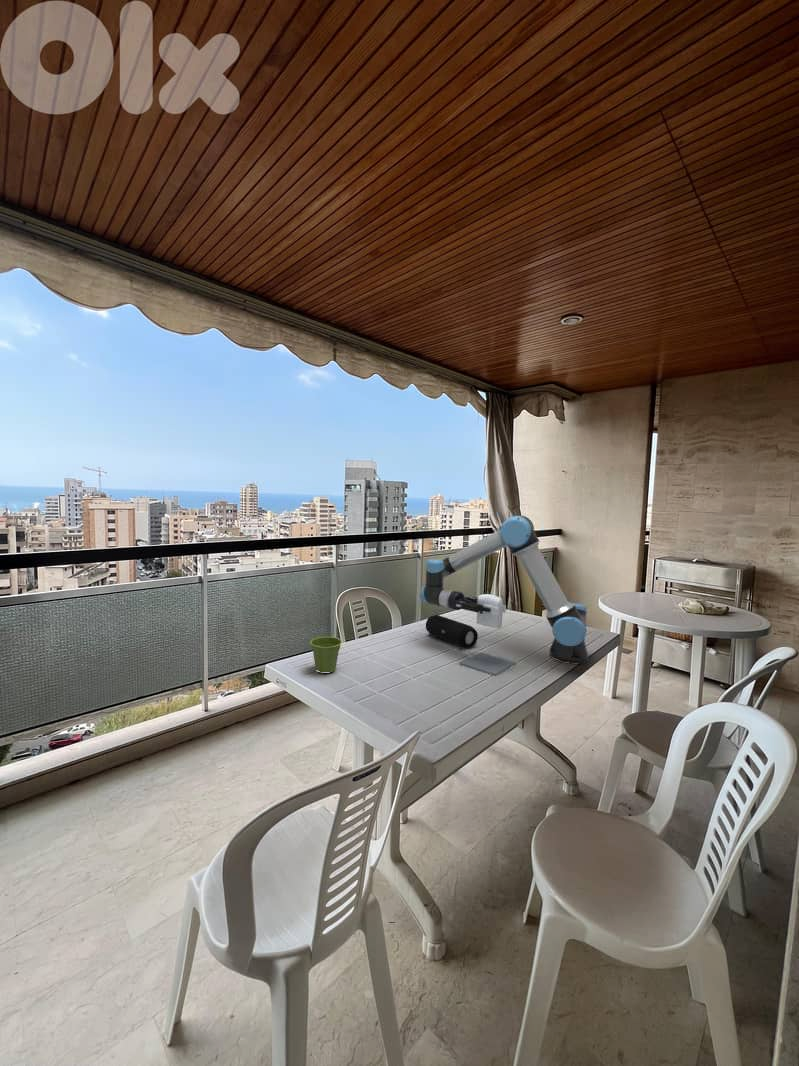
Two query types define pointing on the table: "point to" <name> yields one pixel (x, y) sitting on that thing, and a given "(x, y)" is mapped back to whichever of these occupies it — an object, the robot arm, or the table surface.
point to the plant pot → (325, 652)
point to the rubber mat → (487, 663)
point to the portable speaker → (452, 631)
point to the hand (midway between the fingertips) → (502, 610)
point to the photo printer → (489, 618)
